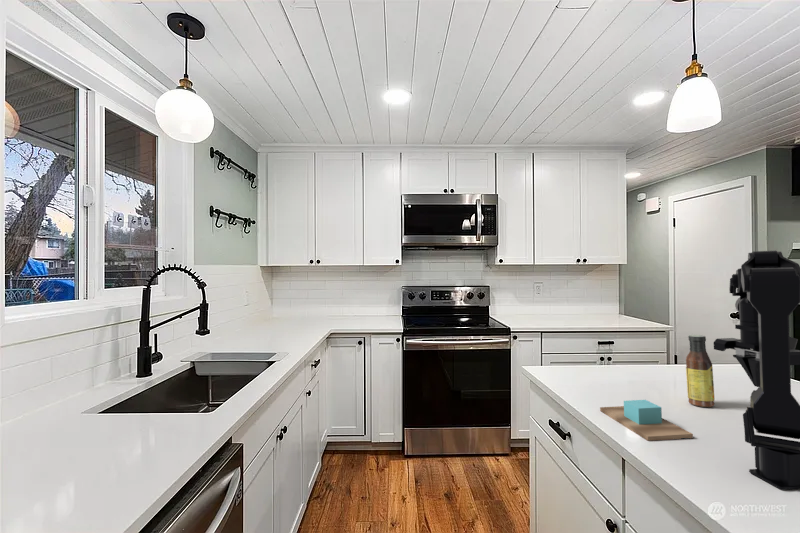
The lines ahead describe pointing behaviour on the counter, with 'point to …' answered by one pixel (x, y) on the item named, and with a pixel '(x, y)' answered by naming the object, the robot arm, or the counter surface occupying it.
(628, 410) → the teal block
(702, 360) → the sauce bottle
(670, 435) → the post base
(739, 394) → the counter surface
